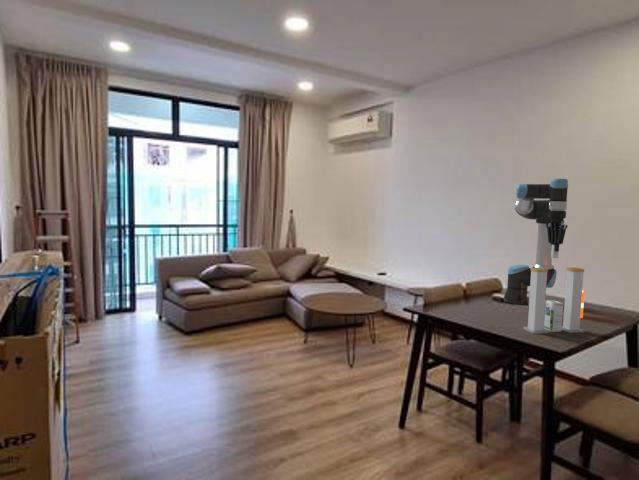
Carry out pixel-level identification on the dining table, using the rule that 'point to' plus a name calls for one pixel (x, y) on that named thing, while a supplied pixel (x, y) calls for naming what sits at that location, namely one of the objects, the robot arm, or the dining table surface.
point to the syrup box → (553, 316)
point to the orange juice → (582, 304)
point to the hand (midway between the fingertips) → (554, 257)
